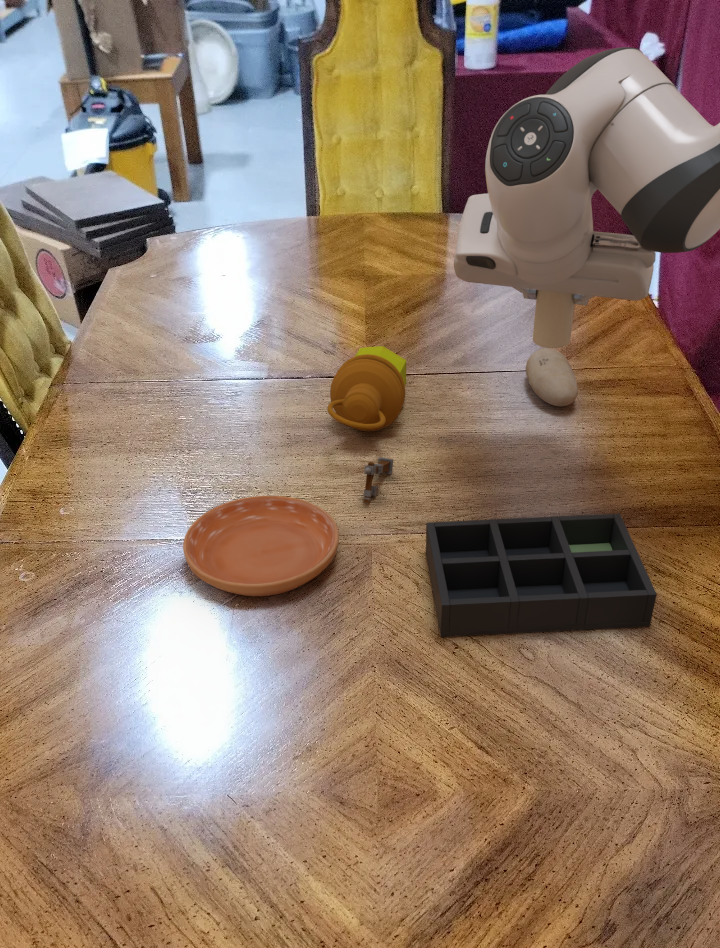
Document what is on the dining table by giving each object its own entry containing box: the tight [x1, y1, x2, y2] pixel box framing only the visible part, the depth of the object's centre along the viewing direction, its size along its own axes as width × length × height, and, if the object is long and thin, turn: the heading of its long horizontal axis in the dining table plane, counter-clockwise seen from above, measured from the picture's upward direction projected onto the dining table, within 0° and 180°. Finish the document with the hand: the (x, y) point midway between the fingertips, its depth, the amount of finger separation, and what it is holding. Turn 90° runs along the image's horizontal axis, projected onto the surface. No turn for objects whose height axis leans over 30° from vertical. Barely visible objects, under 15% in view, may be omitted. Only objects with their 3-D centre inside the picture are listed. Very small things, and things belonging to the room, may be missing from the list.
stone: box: [525, 347, 579, 407], centre depth 129 cm, size 6×6×12 cm
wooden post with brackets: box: [363, 456, 394, 504], centre depth 113 cm, size 2×8×4 cm, turn 163°
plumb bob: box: [327, 345, 407, 432], centre depth 123 cm, size 9×9×25 cm
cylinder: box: [532, 290, 576, 349], centre depth 109 cm, size 4×4×9 cm
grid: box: [425, 512, 658, 638], centre depth 98 cm, size 20×14×4 cm
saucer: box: [182, 495, 340, 597], centre depth 103 cm, size 16×16×3 cm
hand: (556, 295), depth 109 cm, fingers closed on cylinder, 4 cm apart
